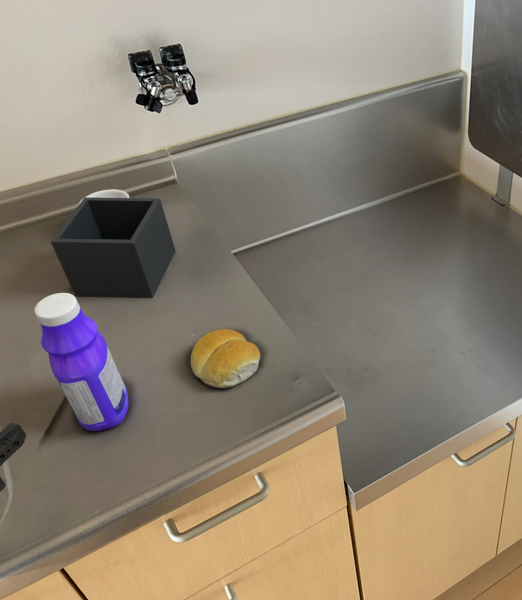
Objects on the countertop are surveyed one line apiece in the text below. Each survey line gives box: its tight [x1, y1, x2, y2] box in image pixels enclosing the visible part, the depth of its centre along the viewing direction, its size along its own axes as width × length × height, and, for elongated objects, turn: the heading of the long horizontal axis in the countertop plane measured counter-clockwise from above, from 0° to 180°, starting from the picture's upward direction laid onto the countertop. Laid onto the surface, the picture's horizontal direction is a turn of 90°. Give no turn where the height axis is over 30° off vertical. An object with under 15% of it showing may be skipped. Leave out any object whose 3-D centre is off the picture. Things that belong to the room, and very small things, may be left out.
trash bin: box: [50, 196, 176, 298], centre depth 92 cm, size 12×12×10 cm
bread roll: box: [190, 328, 261, 389], centre depth 79 cm, size 8×9×4 cm
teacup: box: [78, 188, 130, 205], centre depth 103 cm, size 10×8×5 cm
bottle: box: [33, 292, 129, 432], centre depth 69 cm, size 7×6×17 cm
